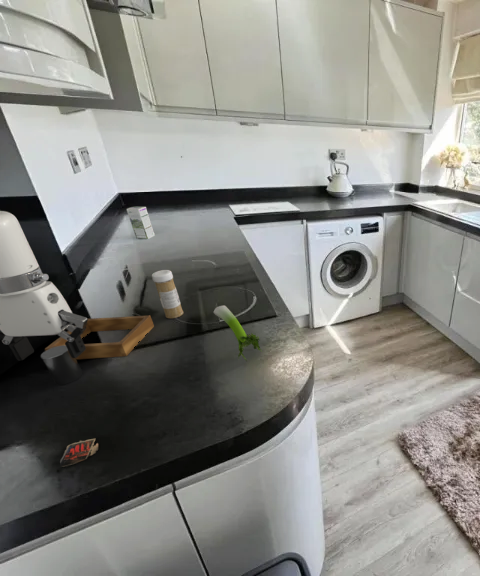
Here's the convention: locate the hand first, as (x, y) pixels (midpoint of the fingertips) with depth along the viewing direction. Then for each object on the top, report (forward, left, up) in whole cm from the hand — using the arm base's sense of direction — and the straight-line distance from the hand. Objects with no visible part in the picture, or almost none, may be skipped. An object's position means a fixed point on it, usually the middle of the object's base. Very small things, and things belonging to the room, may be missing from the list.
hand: (53, 355), depth 67 cm
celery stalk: (+32, +12, -6) cm, 35 cm away
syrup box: (-34, +104, -6) cm, 110 cm away
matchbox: (+16, -20, -6) cm, 26 cm away
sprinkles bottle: (+12, +25, -6) cm, 28 cm away
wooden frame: (+1, +13, -6) cm, 14 cm away
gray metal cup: (+1, 0, -6) cm, 6 cm away
